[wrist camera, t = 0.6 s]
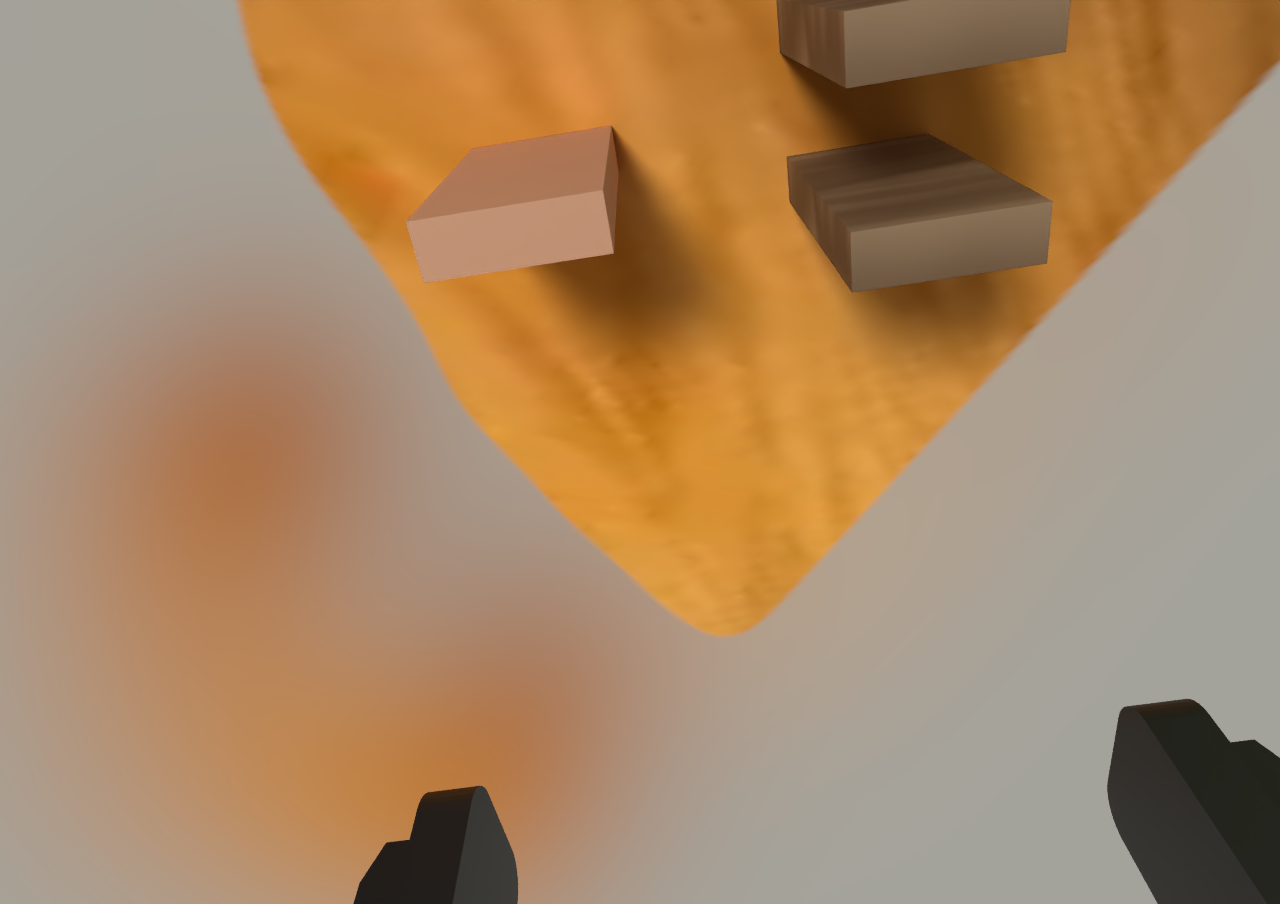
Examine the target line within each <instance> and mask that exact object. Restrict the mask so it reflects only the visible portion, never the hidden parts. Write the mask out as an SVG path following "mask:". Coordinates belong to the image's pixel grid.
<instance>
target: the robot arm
mask: <svg viewBox="0 0 1280 904" xmlns="http://www.w3.org/2000/svg"><path fill="white" fill-rule="evenodd" d="M1107 791H1108V799H1109V805H1110V809H1111V813H1112V816H1113V819H1114V822H1115V824H1116V827H1117V829H1118V831H1119V834H1120V836H1121V838H1122V840H1123V842H1124V843H1125V845H1126V847H1127V849H1128V851H1129V852H1130V854H1131V856H1132V858H1133V860H1134V862H1135V863H1136V865H1137V867H1138V869H1139V871H1140V872H1141V874H1142V876H1143V878H1144V880H1145V881H1146V883H1147V885H1148V887H1149V888H1150V890H1151V892H1152V894H1153V896H1154V898H1155V900H1156V901H1157V903H1158V904H1280V758H1279V757H1278V756H1276V755H1275V754H1274V753H1272V752H1271V751H1269V750H1268V749H1267V748H1265V747H1264V746H1262V745H1261V744H1260V743H1258V742H1257V741H1256V740H1247V741H1239V742H1230V741H1229V740H1228V739H1227V737H1226V736H1225V735H1224V733H1223V732H1222V731H1221V730H1220V728H1219V727H1218V726H1217V724H1216V723H1215V722H1214V720H1213V719H1212V718H1211V716H1210V715H1209V714H1208V713H1207V711H1206V710H1205V709H1204V708H1203V707H1202V706H1201V705H1200V704H1199V703H1197V702H1195V701H1194V700H1191V699H1183V700H1174V701H1166V702H1159V703H1150V704H1143V705H1136V706H1127V707H1124V708H1123V709H1122V710H1121V711H1120V714H1119V718H1118V724H1117V730H1116V736H1115V742H1114V748H1113V754H1112V759H1111V765H1110V771H1109V777H1108V785H1107ZM517 901H518V877H517V868H516V862H515V858H514V854H513V851H512V849H511V846H510V844H509V842H508V839H507V837H506V834H505V832H504V830H503V827H502V825H501V823H500V820H499V818H498V815H497V813H496V811H495V808H494V806H493V804H492V801H491V799H490V797H489V794H488V792H487V790H486V789H485V788H484V787H483V786H475V787H467V788H459V789H451V790H443V791H435V792H428V793H426V794H425V795H424V796H423V797H422V799H421V801H420V803H419V805H418V809H417V812H416V817H415V820H414V824H413V829H412V832H411V837H410V840H404V841H396V842H388V843H386V844H385V845H384V847H383V848H382V850H381V852H380V853H379V855H378V856H377V858H376V859H375V861H374V862H373V864H372V865H371V867H370V868H369V870H368V871H367V873H366V874H365V876H364V877H363V879H362V880H361V882H360V884H359V887H358V891H357V894H356V897H355V900H354V904H517Z"/></svg>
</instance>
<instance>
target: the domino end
mask: <svg viewBox="0 0 1280 904" xmlns="http://www.w3.org/2000/svg"><path fill="white" fill-rule="evenodd" d="M618 180H619V169H618V163H617V157H616V151H615V144H614V138H613V132H612V126H605V127H599V128H593V129H587V130H581V131H575V132H569V133H563V134H557V135H551V136H545V137H539V138H533V139H527V140H521V141H515V142H509V143H503V144H497V145H491V146H485V147H479V148H473V149H471V151H470V152H469V153H468V154H467V155H466V156H465V157H464V158H463V159H462V160H461V162H460V163H459V164H458V165H457V166H456V167H455V168H454V169H453V170H452V172H451V173H450V174H449V175H448V176H447V177H446V178H445V179H444V180H443V181H442V183H441V184H440V185H439V186H438V187H437V188H436V189H435V190H434V191H433V192H432V194H431V195H430V196H429V197H428V198H427V199H426V200H425V201H424V202H423V204H422V205H421V206H420V207H419V208H418V209H417V210H416V211H415V212H414V213H413V215H412V216H411V217H410V218H409V219H408V220H407V221H406V224H407V227H408V231H409V234H410V237H411V241H412V244H413V248H414V251H415V254H416V258H417V261H418V265H419V268H420V271H421V275H422V278H423V282H424V283H427V282H433V281H440V280H446V279H453V278H459V277H466V276H472V275H478V274H485V273H491V272H498V271H504V270H511V269H517V268H523V267H530V266H536V265H543V264H549V263H556V262H562V261H568V260H575V259H581V258H588V257H594V256H601V255H607V254H613V253H614V242H615V227H616V211H617V196H618Z"/></svg>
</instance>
